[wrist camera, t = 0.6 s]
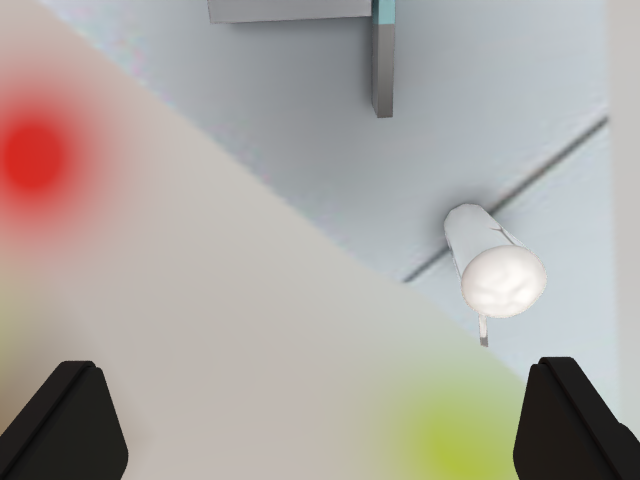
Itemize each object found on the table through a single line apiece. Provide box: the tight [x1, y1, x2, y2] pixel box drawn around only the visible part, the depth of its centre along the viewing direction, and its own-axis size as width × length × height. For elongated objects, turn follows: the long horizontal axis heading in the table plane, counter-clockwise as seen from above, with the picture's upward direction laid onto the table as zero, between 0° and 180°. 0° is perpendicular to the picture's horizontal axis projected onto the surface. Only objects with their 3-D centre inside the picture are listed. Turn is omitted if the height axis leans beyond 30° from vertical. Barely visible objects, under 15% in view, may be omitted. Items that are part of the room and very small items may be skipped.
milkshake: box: [444, 204, 547, 347], centre depth 28 cm, size 4×5×10 cm
